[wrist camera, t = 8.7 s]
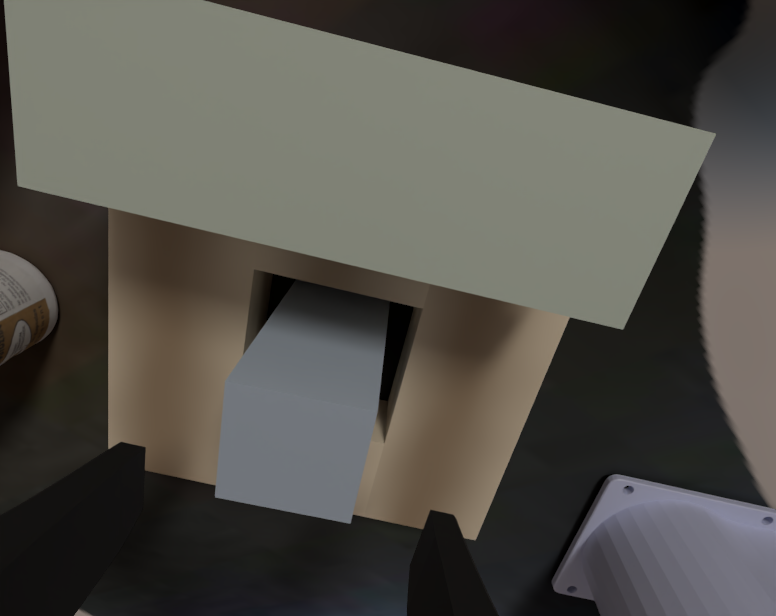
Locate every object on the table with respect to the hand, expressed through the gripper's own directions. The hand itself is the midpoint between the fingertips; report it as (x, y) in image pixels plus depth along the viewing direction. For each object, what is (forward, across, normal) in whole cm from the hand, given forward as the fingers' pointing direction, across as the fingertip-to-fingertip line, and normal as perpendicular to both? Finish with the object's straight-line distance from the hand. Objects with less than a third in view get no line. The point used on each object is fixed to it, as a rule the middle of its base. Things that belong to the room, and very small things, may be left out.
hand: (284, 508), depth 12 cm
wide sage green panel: (+9, 0, -9) cm, 13 cm away
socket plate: (+9, 0, -1) cm, 9 cm away
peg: (+9, 0, 0) cm, 9 cm away
